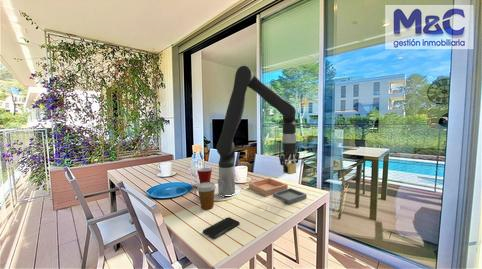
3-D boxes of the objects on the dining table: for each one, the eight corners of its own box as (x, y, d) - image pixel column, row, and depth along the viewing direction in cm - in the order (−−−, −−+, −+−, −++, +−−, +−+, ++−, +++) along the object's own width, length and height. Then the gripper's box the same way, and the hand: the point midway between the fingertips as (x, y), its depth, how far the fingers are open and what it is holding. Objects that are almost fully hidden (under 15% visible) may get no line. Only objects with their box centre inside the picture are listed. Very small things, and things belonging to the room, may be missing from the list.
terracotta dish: (266, 197, 116) (266, 190, 116) (249, 188, 131) (248, 182, 130) (287, 190, 125) (287, 184, 125) (269, 183, 140) (269, 177, 139)
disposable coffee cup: (209, 201, 113) (208, 180, 112) (220, 206, 106) (219, 184, 105) (194, 207, 106) (193, 185, 105) (204, 213, 99) (203, 189, 98)
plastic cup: (214, 183, 143) (214, 166, 142) (211, 188, 132) (210, 170, 131) (199, 183, 144) (199, 166, 143) (194, 188, 134) (194, 170, 132)
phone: (240, 222, 89) (213, 238, 78) (240, 224, 89) (214, 240, 78) (228, 216, 94) (201, 230, 83) (228, 219, 94) (201, 233, 83)
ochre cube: (289, 174, 110) (289, 165, 110) (283, 172, 115) (283, 163, 114) (296, 172, 113) (296, 164, 113) (289, 171, 117) (289, 162, 117)
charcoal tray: (288, 204, 106) (288, 200, 106) (273, 197, 117) (273, 193, 116) (306, 198, 114) (306, 194, 114) (290, 191, 124) (290, 187, 124)
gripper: (293, 139, 119) (293, 168, 121) (274, 142, 112) (275, 172, 113) (303, 141, 113) (303, 171, 115) (284, 143, 105) (285, 175, 107)
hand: (289, 171), depth 114 cm, fingers closed on ochre cube, 5 cm apart
